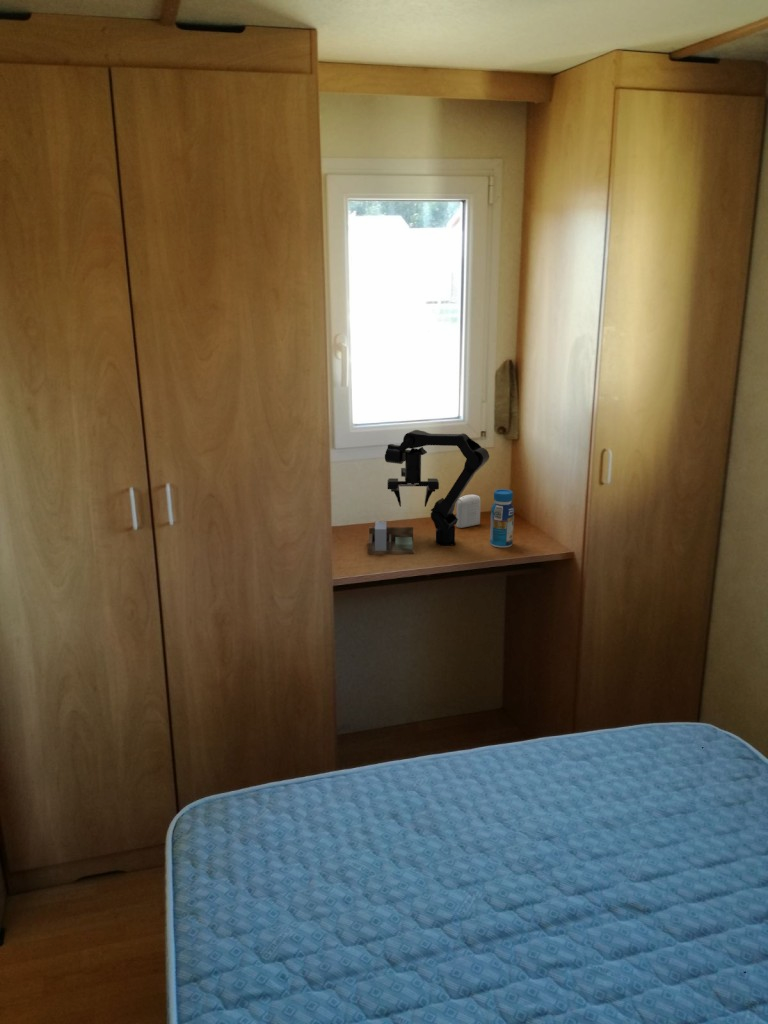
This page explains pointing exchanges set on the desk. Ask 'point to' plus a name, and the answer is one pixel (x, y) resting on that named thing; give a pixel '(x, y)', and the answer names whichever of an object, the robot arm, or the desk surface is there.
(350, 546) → the desk surface
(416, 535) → the desk surface
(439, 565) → the desk surface
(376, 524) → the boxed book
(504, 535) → the beverage bottle
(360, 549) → the desk surface
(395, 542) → the book rack
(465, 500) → the photo printer
